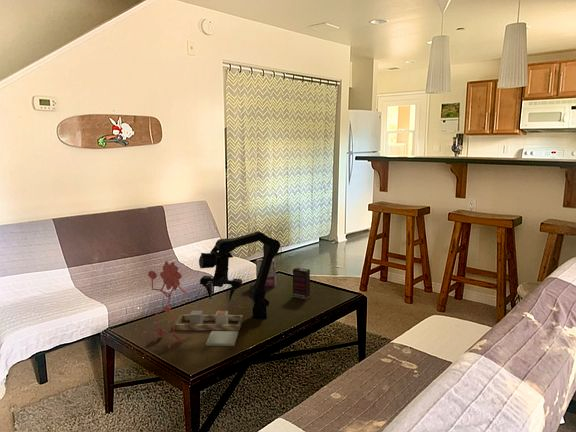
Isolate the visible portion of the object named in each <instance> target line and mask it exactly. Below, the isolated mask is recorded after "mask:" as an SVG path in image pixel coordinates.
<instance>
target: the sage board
mask: <svg viewBox="0 0 576 432" xmlns="http://www.w3.org/2000/svg"><path fill="white" fill-rule="evenodd" d="M238 336H239V331H221V330H211V332H210V334H209V336H208V338H207V340H206V342H205V346H207V347H208V346H210V347H211V346H214V347H215V346H217V347H218V346H220V347H221V346H222V347H234V346H235V345H236V343H237V339H238Z"/></svg>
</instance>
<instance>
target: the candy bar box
mask: <svg viewBox="0 0 576 432" xmlns="http://www.w3.org/2000/svg"><path fill="white" fill-rule="evenodd" d="M262 259H263V258H257V259H256V260H255V272H256V274H255V275H256V276H255V277H256V278H255V279H256V280H257V276H258V273H259V269H260V266H261V263H262ZM276 260H277V259H276V258H273V260H272V263H271V267H270V270H269V273H268V277H267V280H266V284H265V288H275V287H276V286H277V266H276V265H277V263H276V262H277V261H276ZM256 280H255V281H256Z"/></svg>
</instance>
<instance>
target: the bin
mask: <svg viewBox="0 0 576 432" xmlns="http://www.w3.org/2000/svg"><path fill="white" fill-rule="evenodd" d="M215 315H216V314H203V321H205V322H206V321H212V322H213V321H215V322H216V320H215ZM183 321H190V314H180V315H179V317H178V318H177V320H175V321H174V330H175V331H238V332H239V331H240V329H241V326H242V325H243V321H244V315H243V314H228V322H237V324H229V323H228V324H216V323H203V324H190V323H182V322H183ZM174 330H173V331H174Z"/></svg>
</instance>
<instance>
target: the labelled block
mask: <svg viewBox="0 0 576 432" xmlns="http://www.w3.org/2000/svg"><path fill="white" fill-rule="evenodd" d="M214 315H215V320H216V321H215V324H229V321H228V315H229V311H228V310H217V311H216V313H215V314H214Z"/></svg>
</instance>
